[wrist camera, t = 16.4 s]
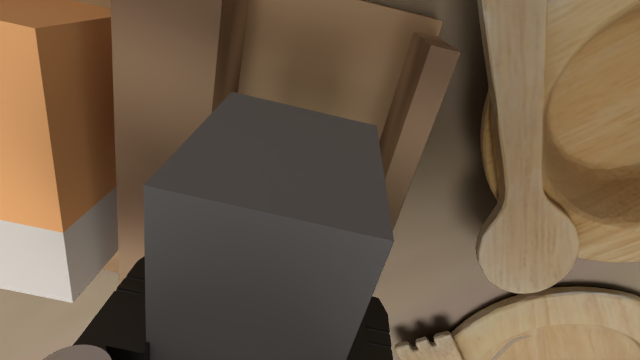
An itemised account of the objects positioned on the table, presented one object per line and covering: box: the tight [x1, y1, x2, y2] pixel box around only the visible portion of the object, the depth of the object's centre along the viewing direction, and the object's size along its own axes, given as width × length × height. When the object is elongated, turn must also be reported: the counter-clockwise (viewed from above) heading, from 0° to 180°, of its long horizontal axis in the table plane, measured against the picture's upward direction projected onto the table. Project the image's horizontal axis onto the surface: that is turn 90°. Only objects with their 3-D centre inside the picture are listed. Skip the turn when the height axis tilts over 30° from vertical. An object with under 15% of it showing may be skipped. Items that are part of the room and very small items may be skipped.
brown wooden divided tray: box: [72, 0, 461, 283], centre depth 14 cm, size 14×16×4 cm
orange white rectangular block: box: [0, 0, 119, 303], centre depth 13 cm, size 9×4×4 cm, turn 169°
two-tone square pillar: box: [144, 92, 394, 360], centre depth 10 cm, size 9×4×4 cm, turn 168°
